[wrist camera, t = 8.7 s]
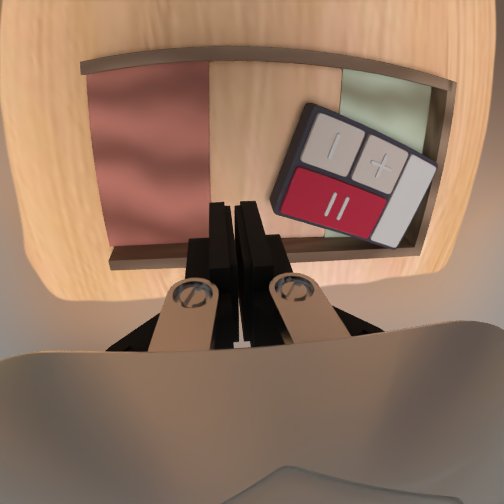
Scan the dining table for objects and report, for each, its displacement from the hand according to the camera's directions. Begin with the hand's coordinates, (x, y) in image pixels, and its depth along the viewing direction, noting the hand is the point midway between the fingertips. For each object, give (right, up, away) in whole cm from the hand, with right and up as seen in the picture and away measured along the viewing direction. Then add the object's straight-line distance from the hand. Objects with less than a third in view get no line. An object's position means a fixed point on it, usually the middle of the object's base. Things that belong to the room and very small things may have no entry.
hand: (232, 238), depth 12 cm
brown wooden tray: (+3, +9, +19) cm, 21 cm away
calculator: (+11, +8, +21) cm, 25 cm away
